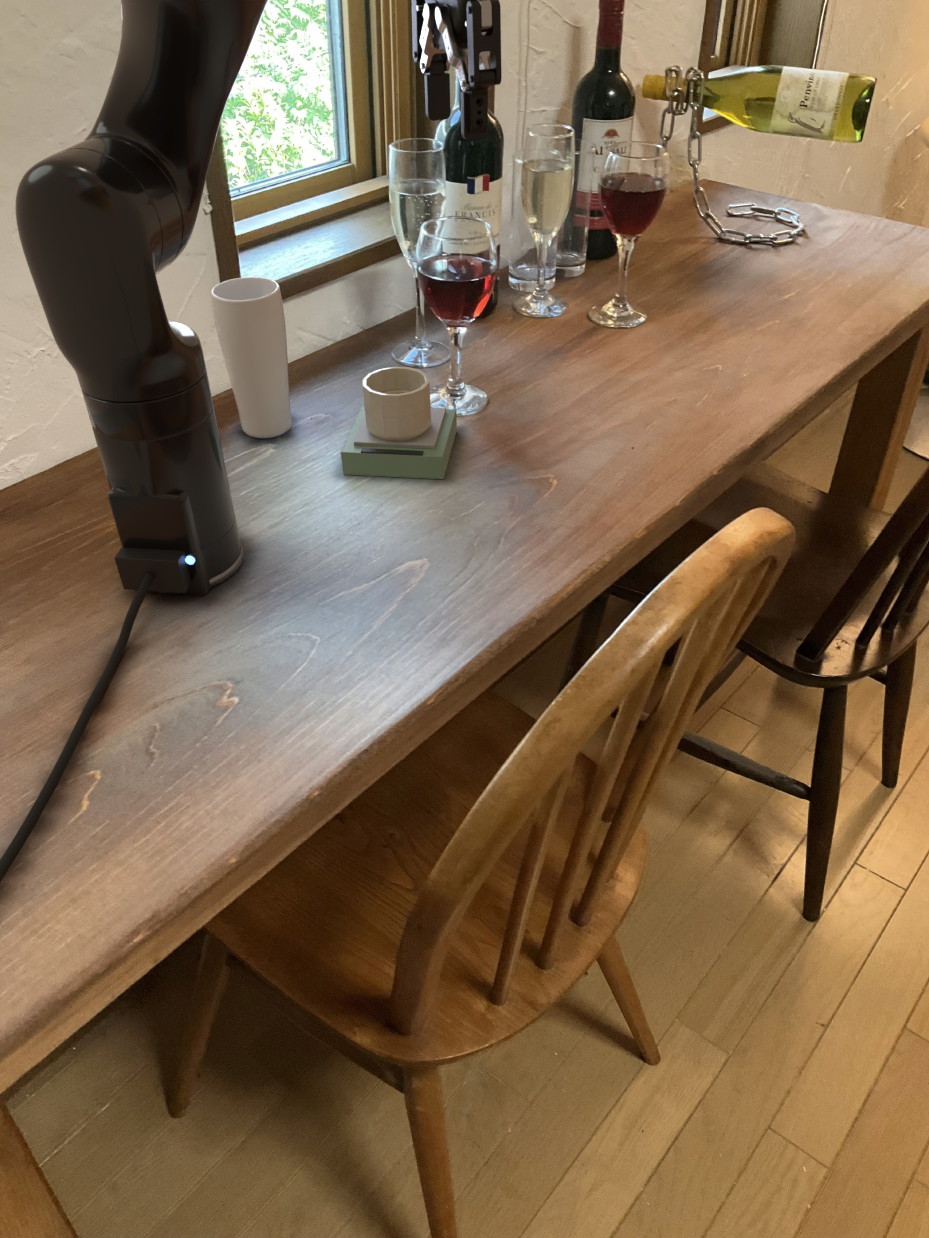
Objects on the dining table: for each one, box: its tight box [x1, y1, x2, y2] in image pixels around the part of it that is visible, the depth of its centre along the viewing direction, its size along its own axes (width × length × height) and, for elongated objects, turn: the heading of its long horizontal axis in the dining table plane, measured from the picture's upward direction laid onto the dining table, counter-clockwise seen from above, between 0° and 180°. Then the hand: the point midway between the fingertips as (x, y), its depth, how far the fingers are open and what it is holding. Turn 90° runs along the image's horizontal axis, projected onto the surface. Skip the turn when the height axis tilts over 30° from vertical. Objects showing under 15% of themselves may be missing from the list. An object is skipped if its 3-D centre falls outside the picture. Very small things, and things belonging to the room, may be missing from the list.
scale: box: [340, 405, 458, 480], centre depth 97 cm, size 10×10×3 cm
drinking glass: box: [210, 276, 293, 439], centre depth 97 cm, size 7×7×15 cm
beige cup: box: [362, 366, 432, 441], centre depth 94 cm, size 6×6×5 cm
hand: (455, 129), depth 86 cm, fingers open, 8 cm apart
